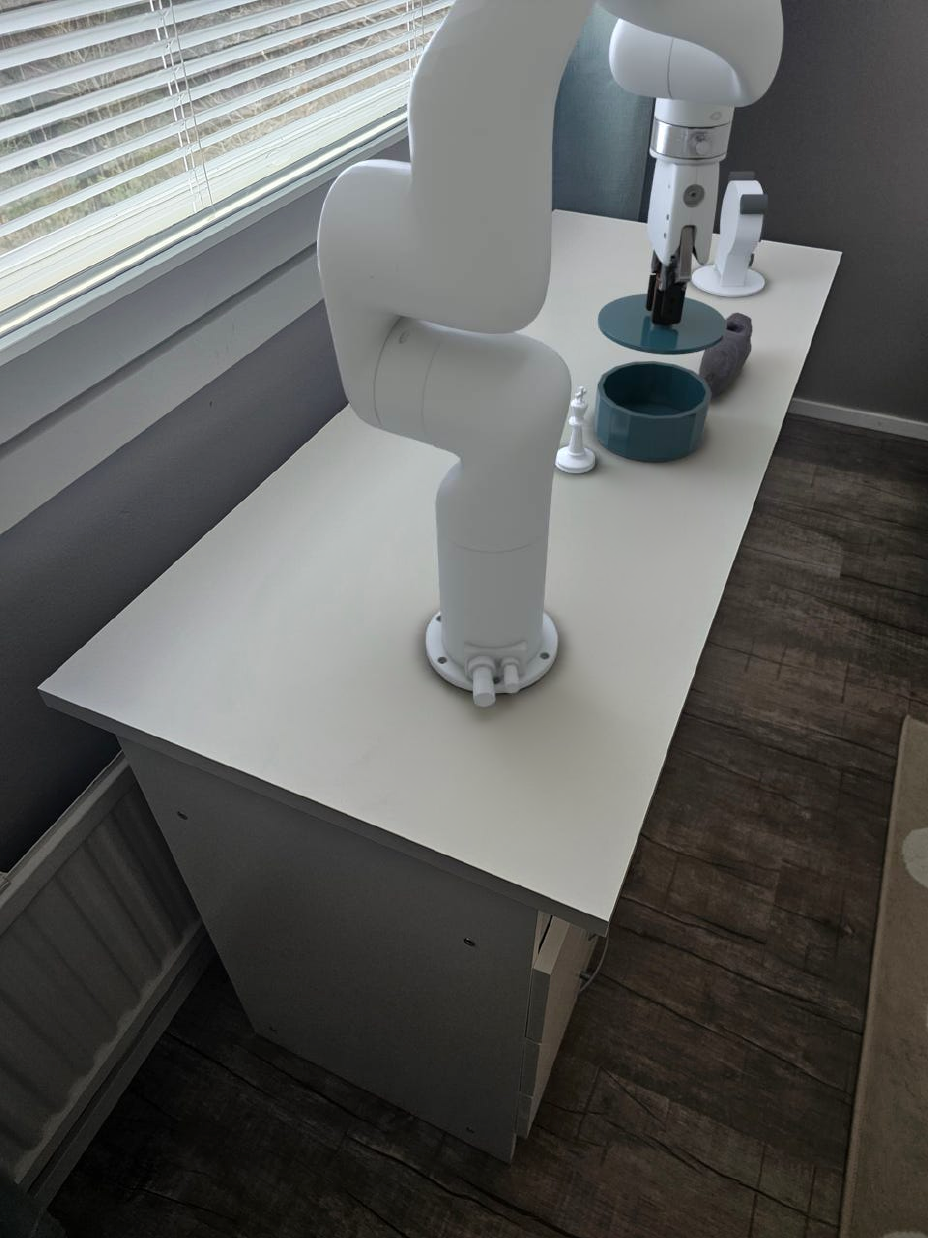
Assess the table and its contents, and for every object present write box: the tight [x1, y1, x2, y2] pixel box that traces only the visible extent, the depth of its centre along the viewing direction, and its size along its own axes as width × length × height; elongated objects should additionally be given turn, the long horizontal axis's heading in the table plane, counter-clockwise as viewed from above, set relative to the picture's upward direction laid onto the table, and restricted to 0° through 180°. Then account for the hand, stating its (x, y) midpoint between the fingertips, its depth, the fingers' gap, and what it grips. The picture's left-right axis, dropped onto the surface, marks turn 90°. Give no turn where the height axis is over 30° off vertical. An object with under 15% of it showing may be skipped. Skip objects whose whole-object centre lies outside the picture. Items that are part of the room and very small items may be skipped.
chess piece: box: [555, 385, 596, 474], centre depth 103 cm, size 5×5×10 cm
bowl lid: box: [597, 272, 727, 356], centre depth 99 cm, size 14×14×6 cm
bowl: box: [593, 360, 712, 463], centre depth 109 cm, size 13×13×6 cm
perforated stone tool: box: [698, 312, 753, 398], centre depth 117 cm, size 15×5×7 cm, turn 150°
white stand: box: [691, 171, 769, 298], centre depth 136 cm, size 12×11×15 cm
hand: (662, 314), depth 100 cm, fingers closed on bowl lid, 2 cm apart
